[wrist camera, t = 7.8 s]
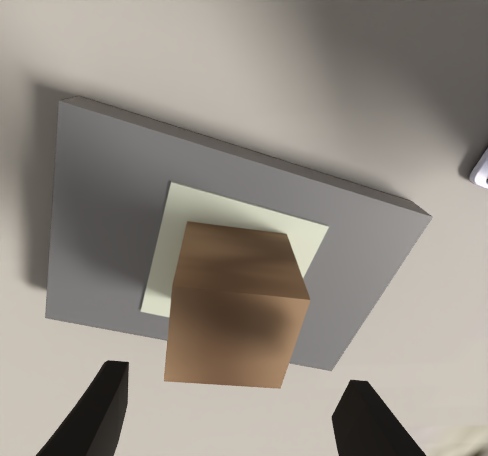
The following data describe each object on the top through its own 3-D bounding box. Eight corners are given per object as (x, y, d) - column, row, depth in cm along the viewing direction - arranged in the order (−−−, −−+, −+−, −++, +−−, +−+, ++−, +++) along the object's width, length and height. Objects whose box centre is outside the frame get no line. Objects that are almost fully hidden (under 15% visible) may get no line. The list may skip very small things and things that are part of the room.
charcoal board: (412, 201, 18) (434, 218, 16) (323, 347, 23) (332, 372, 21) (78, 95, 15) (56, 101, 13) (61, 294, 20) (43, 319, 18)
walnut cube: (287, 234, 16) (310, 299, 12) (266, 309, 18) (280, 388, 14) (187, 221, 15) (172, 285, 11) (178, 300, 18) (163, 381, 13)
